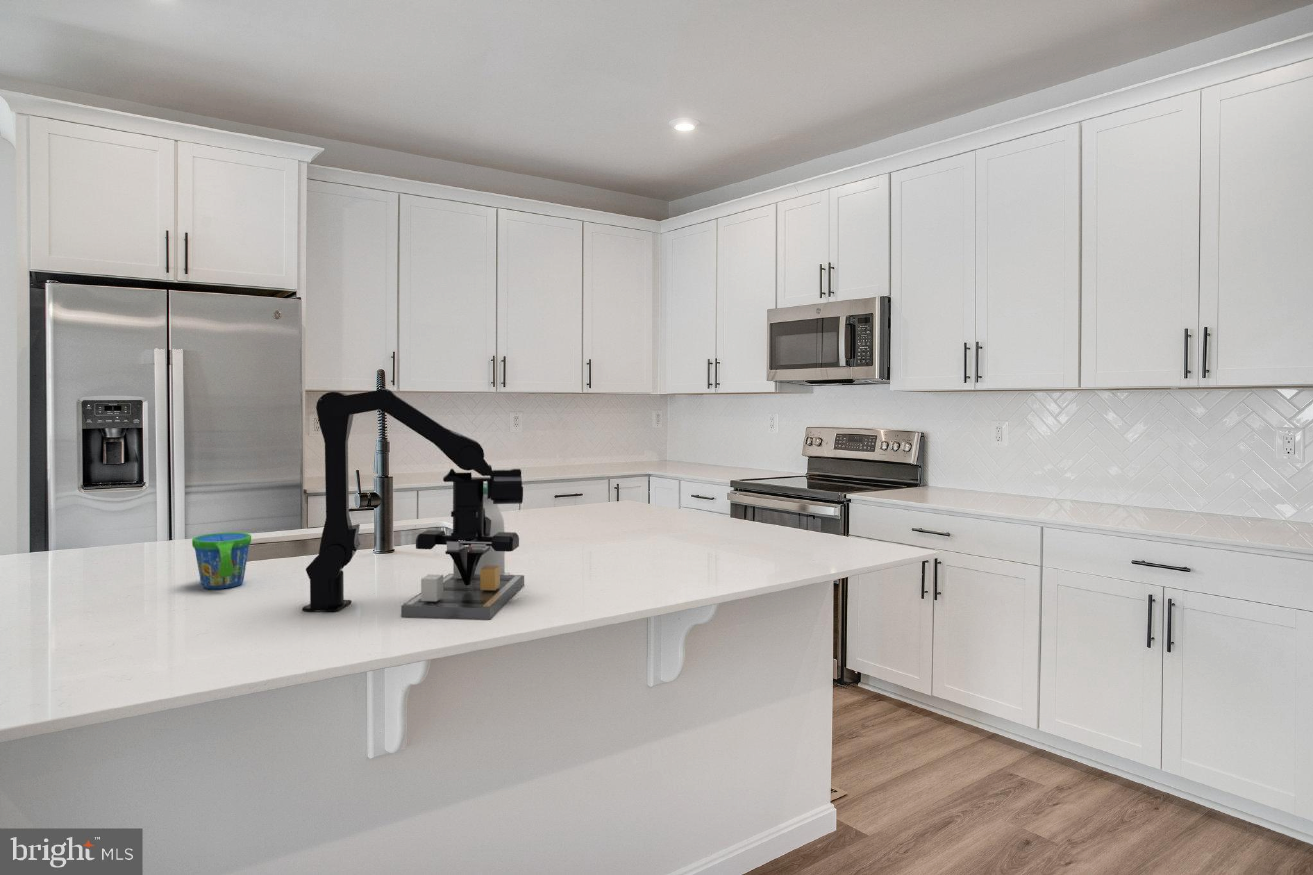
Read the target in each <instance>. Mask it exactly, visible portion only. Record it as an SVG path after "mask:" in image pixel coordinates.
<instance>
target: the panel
mask: <svg viewBox="0 0 1313 875" xmlns="http://www.w3.org/2000/svg"><path fill="white" fill-rule="evenodd" d="M524 586H525V575H524V574H523V575H522V574H521V575H520V574H518V575H517V574H504V575H500V586H499V587H498V588H497V589H496V590H480V574H474V576H473V579H472V582H471V584H470V585H469V586H468V585H465V584H464V582H463V579H462V578H453V573H448V574H446V575H445V576H443V597H442V598H440V599H439V600H438V601H421V592H420V593H418V594H417V595H414V597H412V598H411V599H409V600H408V601H406V602H405V603H403V604H402V605H401V606H400V612H401V613H400V615H401V618H422V619H423V618H426V619H455V620H456V619H457V620H459V619H462V620H465V619H466V620H492V618H494V617H495V615H496V614H497V613H498V612H499V611H500V610H501V609H502V608H503V607H504V606H505V605H506V604H507V603H508V602H509V601H510V600H511V599H512V598H513V597H514V596H515V595H516V594H517V593H518V592H519V591H520V590H521V589H522V588H523V587H524Z"/></svg>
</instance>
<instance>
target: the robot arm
mask: <svg viewBox="0 0 1313 875" xmlns="http://www.w3.org/2000/svg"><path fill="white" fill-rule="evenodd" d="M315 408H316V415H317V420H318V424H319V427H320V432H321V435H322V437H323V442H324V472H325V473H324V474H325V475H324V476H325V480H324V481H325V483H324V484H325V486H324V487H325V521H324V524H323V528H322V534H321V538H320V545H319V550H318V555H317V556H316V557H314V559H313V560H312V561H311V562H310V563H309V564H308V565H307V567H306V568H305V572H306V574H307V577H308V579H309V595H310V596H309V597H310V598H309V601H310V602H309V604H307V605H304V606H303V607H302V608H301V611H306V612H307V611H308V612H309V611H310V612H311V611H312V612H338V611H339V610H342V609H343V608H345V607H347V606H349V605H350V604H351V603H352V600H351V599H344V598H345V597H344V596H345V595H344V593H345V592H344V588H345V587H344V581H345V580H344V570H343V569H344V567H346V566H347V565H348V564H349V563H350V562H351V561H352V559H353V557H354V556H355V554H356V552H357V550H358V549H359V548H360V546H361V541H360V540H359V533H360V528H361V527H360V526H361V525H360V524H359V523H358V524H352V520H351V516H350V501H349V500H350V499H349V498H350V497H349V496H350V494H349V492H350V491H349V490H350V489H349V488H350V487H349V485H350V484H349V481H350V480H349V438H350V434H351V429H352V426H353V421H354V416H355V415H356V414H362V413H369V412H372V411H373V412H374V411H379V410H380V411H383V412H384V413H386V414H387V415H389V416H390V417H392V418H393V419H395V420H397V421H398V422H400V423H401V424H403V425H404V426H406V427H407V428H409V429H411V431H413V432H415V433H417V434H418V435H419V436H421V437H423V438H424V439H426V440H428V441H429V442H431V443H432V444H433V445H435V446H436V447H437V448H438V449H439V451H441V452H442V454H444V455H445V456H446V457H447V458H448V459H449V460H451V462H453V463H454V464H455V465H456V466H457V467H458V468H459V469H461V470H463V471H468V472H457V471H455V469H454V468H450V470H449V471H448V473H447V474H446V475H444V476H443V478H442V479H443V482H444V483H452V510H451V511H450V516H451V517H450V518H452V532H451V533H450V534H446V531H445V530H437V529H435V530H434V529H433V530H432V529H431V530H429V529H428V530H427V529H426V530H424V531H423V532H421V533H419V534H418V535H417V536H416V538H415V549H416V550H432V549H433V548H435V546H437V545H442V546H446V550H445V555H449V556H450V558H451V559H452V561H454V563H455V564H456V566H457V568H458V570H459V572H460V575H461V577H462V579H463V582H464V584H465V585H468V586H469V585H470V584H471V582H472V579H473V576H474V573H475V570H476V567H477V564H478V562H479V560H480V558H481V556H482V555H483V554H485V553H486V552H488V551H489V550H490V547H489V546H492V548H493V549H494V550H495V551H505V553H506V552H513V551H515V550H516V549H517V548H519V547H520V537H519V535H518V533H517V532H510V531H509V532H508V531H506V532H505V531H504V532H498V533H497V534H495V535H494V536H490V530H491V520H490V519H489V518H488V517H486V516H485V508H483V497H484V485H485V484H484V482H486V485H487V499H490V498H491V500H493V504H498V505H518V504H523V500H524V486H523V481H522V478H523V477H522V469H520V468H512V469H492V467H493V466H492V465H491V464H488V462H487V461H486V460H485V452H484V449H483V447H482V445H481V444H480V443H479V442H478V441H477V440H475V439H472V438H470V437H468V436H466V435H463V434H460V433H459V432H457V431H453V430H452V429H449V428H447V427H446V426H443V425H442V424H440V423H439V422H438V421H436V420H435V419H433V418H431V417H429V415H427V414H425V413H424V412H422V411H421V410H419V409H418V408H417V407H414V406H412V404H409V403H408V402H407V401H405V400H403V399H402V398H400V397H399V396H397V395H396V394H395V393H394V391H392V390H391V389H389V388H378V389H376V390H372V391H366V392H359V393H353V394H346V393H345V392H340V391H330V392H329V391H328V392H326V393H323V395H321V397H320V396H319V398H318V399H317V401H316V406H315ZM471 471H474V472H476V473H478V474H479V475H480V477H476V476H474V477H473V476H472V472H471ZM481 476H482V477H481ZM483 535H484V536H483ZM469 545H471V548H472V550H470V551H469V552H468V550H469Z"/></svg>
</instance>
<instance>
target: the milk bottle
mask: <svg viewBox="0 0 1313 875" xmlns="http://www.w3.org/2000/svg"><path fill="white" fill-rule="evenodd" d="M483 508H485V516H486V517H488V518H489V519H490V520H491V530H490V536H494V535H495V534H497V533H498V532H505V521H504V517H503V514H502V512H501V510H500V507H499V504H493V500H491V498H490V499H487V484H484V497H483ZM483 536H484V535H483ZM468 546H469V550H468V552H469V551H470V550H472V548H471V545H468ZM489 547H490V550H489V551H488V552H486V553H485V554H483V555H482V556H481V558H480V560H479V562H478V564H477V567H476V570H475V573H474V574H480V569H481V568H483V567H484V566H485V565H498V566H500V575H505V558H506V557H505V555H506V554H505V553H506V551H495V550H494V549H493V548H492V546H489Z"/></svg>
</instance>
